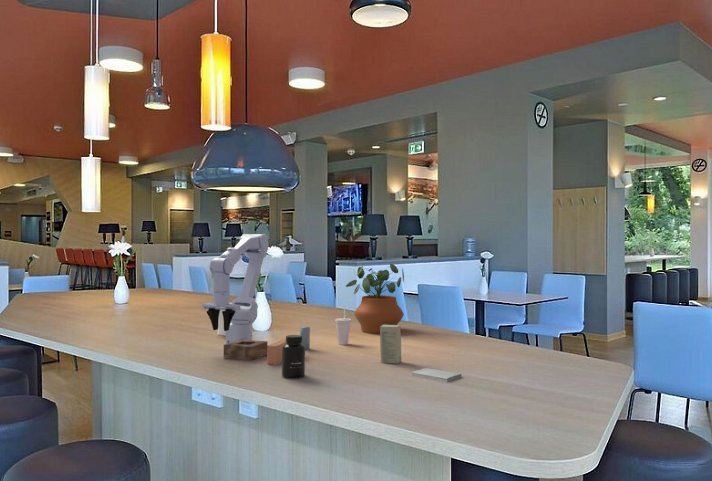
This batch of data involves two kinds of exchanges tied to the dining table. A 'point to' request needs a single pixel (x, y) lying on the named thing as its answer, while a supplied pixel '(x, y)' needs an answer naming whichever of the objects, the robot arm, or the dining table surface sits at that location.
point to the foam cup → (221, 323)
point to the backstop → (275, 352)
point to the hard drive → (436, 374)
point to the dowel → (305, 337)
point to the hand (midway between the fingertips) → (221, 330)
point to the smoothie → (343, 329)
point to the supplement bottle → (293, 357)
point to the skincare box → (390, 343)
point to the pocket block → (245, 349)
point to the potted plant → (377, 301)
